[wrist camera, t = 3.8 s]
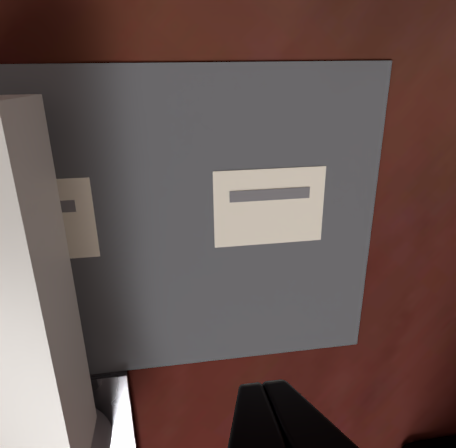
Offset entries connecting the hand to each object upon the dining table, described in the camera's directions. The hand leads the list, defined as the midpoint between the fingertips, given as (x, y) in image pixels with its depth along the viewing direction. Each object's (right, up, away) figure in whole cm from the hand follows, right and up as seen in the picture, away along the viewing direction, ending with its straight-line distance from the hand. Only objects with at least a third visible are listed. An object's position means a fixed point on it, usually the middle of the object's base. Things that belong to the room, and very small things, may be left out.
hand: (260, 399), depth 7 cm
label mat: (-4, +3, +10) cm, 11 cm away
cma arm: (-9, -1, +10) cm, 13 cm away
